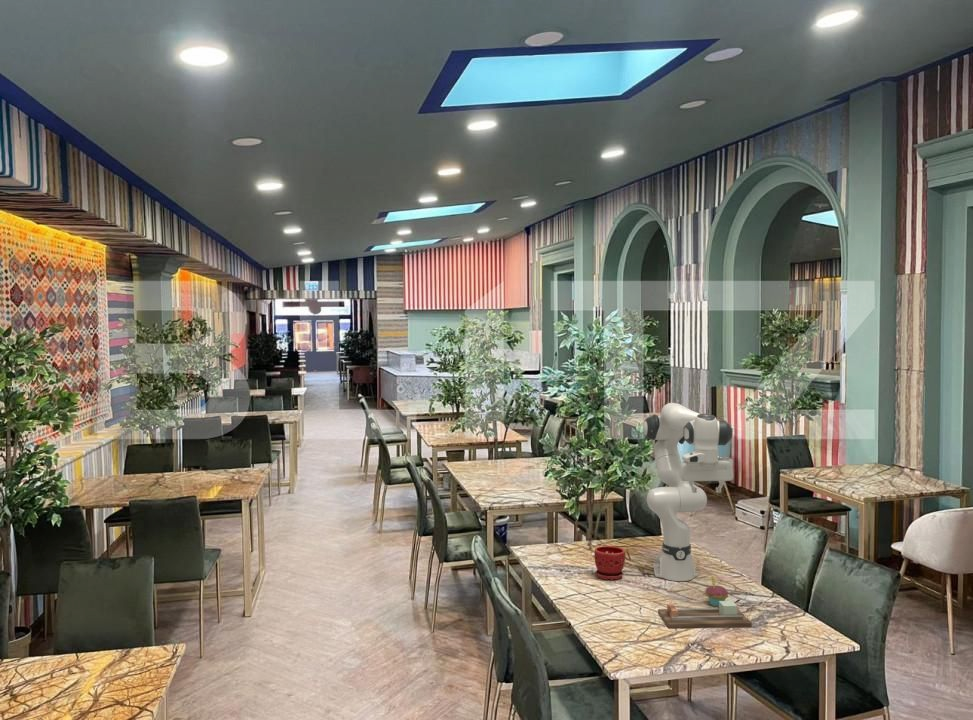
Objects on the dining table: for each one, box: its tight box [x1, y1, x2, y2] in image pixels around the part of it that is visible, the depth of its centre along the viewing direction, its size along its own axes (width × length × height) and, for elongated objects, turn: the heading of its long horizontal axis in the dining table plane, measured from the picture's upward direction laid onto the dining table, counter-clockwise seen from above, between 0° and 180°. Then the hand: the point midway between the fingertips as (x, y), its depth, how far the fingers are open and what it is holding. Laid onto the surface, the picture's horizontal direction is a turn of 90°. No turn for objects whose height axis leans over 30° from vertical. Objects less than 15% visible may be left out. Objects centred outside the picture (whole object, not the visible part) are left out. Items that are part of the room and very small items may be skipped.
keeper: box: [718, 600, 738, 616], centre depth 262 cm, size 5×5×4 cm
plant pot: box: [593, 545, 626, 581], centre depth 310 cm, size 13×13×12 cm
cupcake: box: [704, 574, 729, 608], centre depth 277 cm, size 9×8×12 cm
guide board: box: [657, 602, 753, 629], centre depth 262 cm, size 14×30×5 cm, turn 91°
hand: (706, 492), depth 275 cm, fingers open, 8 cm apart
